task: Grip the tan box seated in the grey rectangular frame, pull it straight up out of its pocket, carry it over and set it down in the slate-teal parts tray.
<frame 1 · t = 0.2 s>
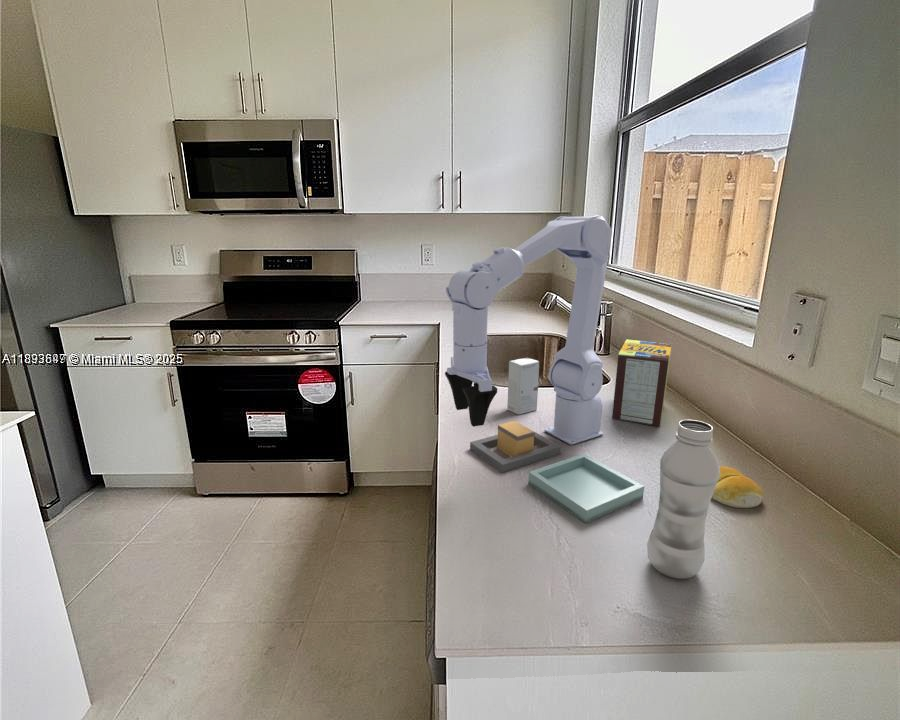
hand: (469, 416, 84), 10 cm above the worktop, fingers open, 7 cm apart
tan box: (515, 440, 91), in the grey rectangular frame
parts tray: (584, 490, 78), on the worktop
plastic bottle: (672, 569, 61), on the worktop
protein box: (638, 412, 112), on the worktop
skincare box: (521, 410, 113), on the worktop
grey rectangular frame: (514, 451, 92), on the worktop
bread roll: (729, 495, 78), on the worktop
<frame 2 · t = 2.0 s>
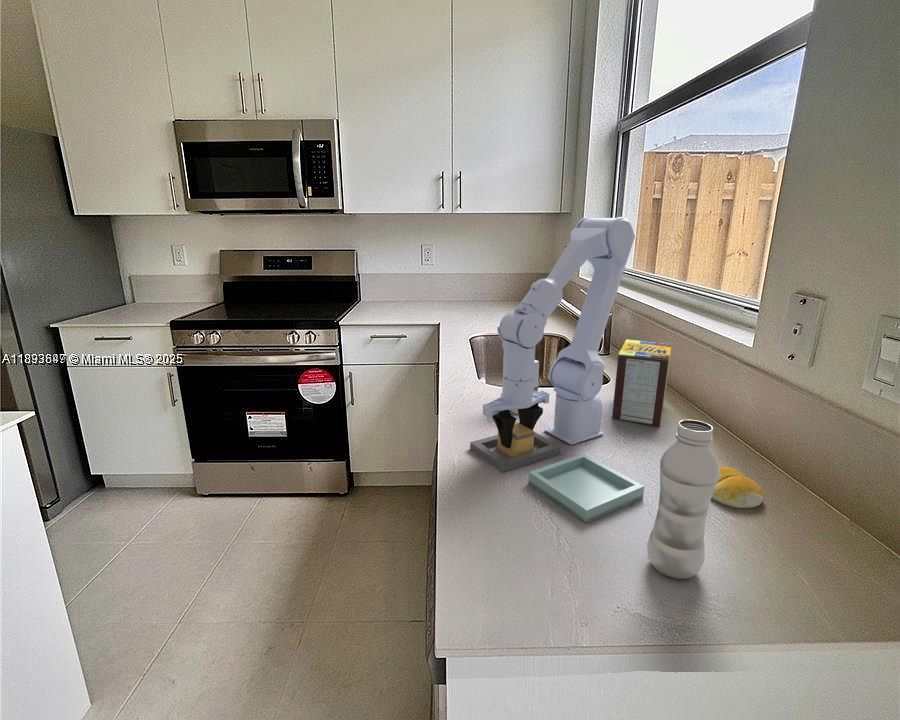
hand: (515, 443, 91), 2 cm above the worktop, fingers closed on tan box, 4 cm apart
tan box: (515, 439, 91), in the grey rectangular frame, touching gripper
everything else where it was.
when the fingers open (4 cm above the worktop, at t = 6.4 s): tan box drops 1 cm, resting on parts tray.
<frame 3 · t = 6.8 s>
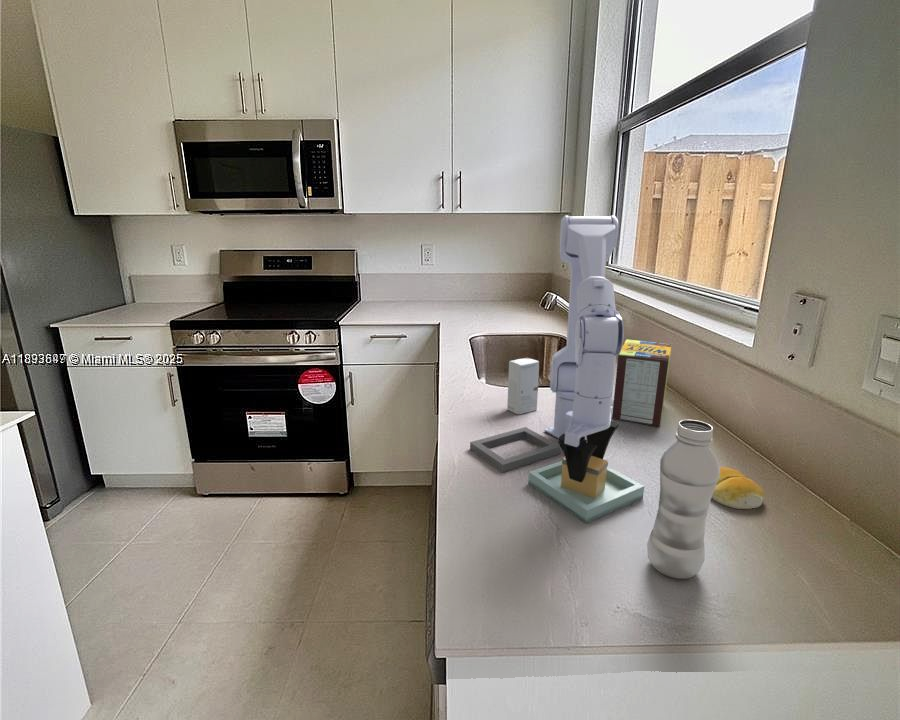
hand: (585, 470, 77), 4 cm above the worktop, fingers open, 7 cm apart
tan box: (584, 473, 78), in the parts tray, point 3 cm above the worktop
everything else where it was.
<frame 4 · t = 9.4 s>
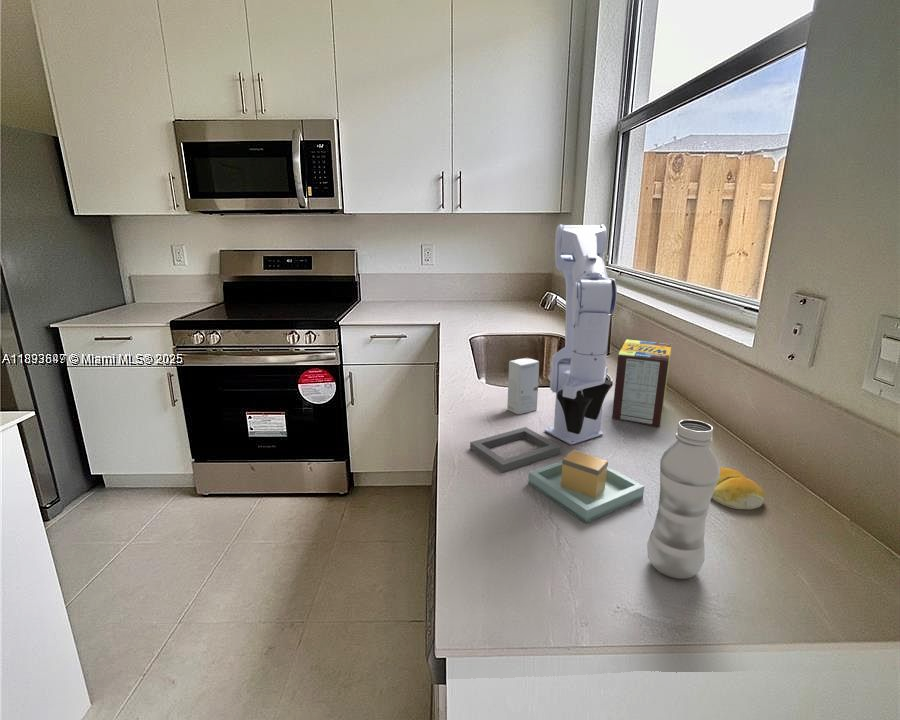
hand: (582, 425, 83), 8 cm above the worktop, fingers open, 7 cm apart
nothing on the worktop moved.
at the end: tan box inside the target area on the parts tray (0.2 cm from its centre), point 3.1 cm above the parts tray's base; the gripper is holding nothing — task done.
